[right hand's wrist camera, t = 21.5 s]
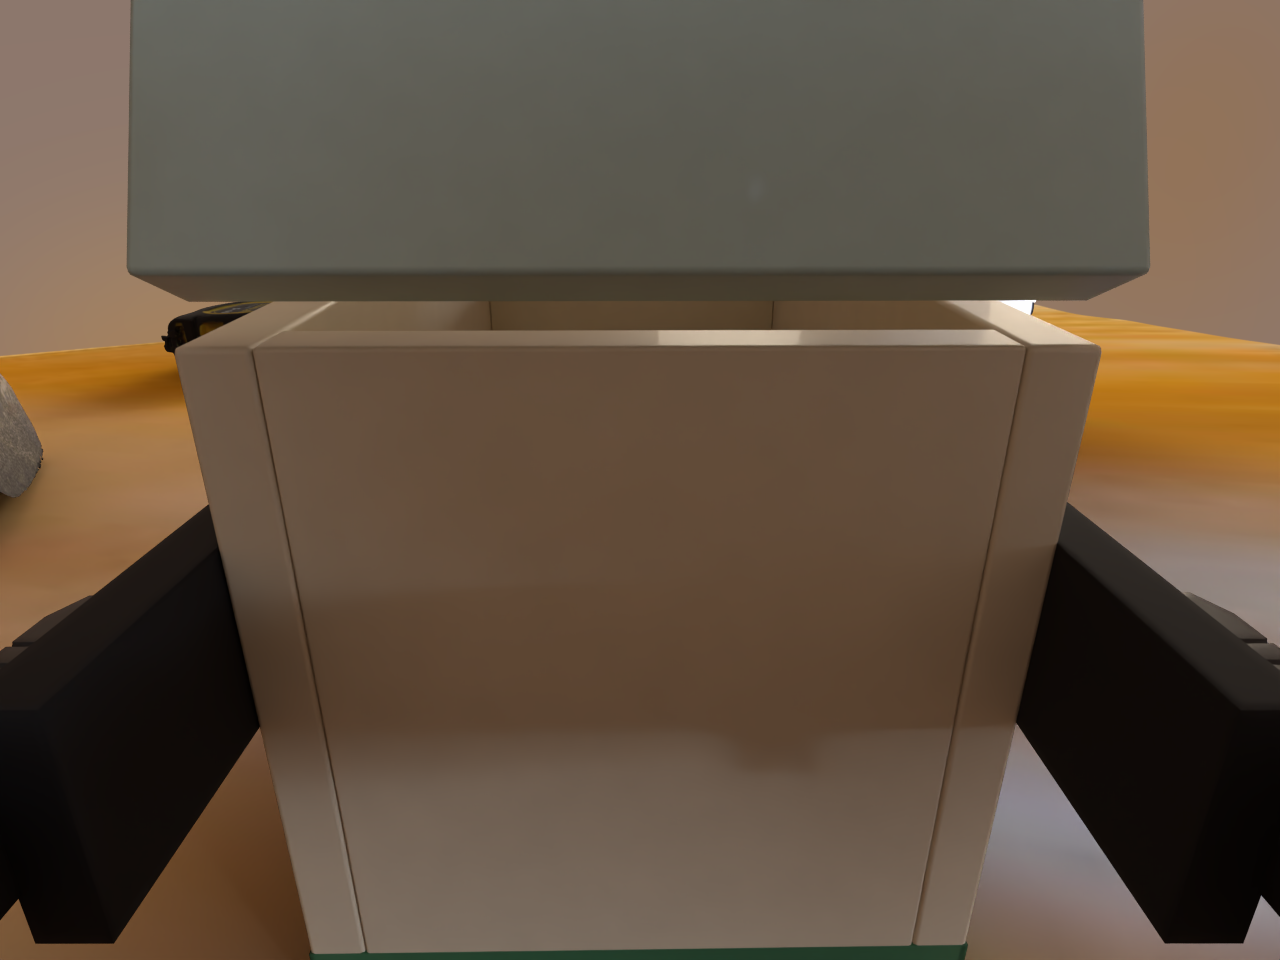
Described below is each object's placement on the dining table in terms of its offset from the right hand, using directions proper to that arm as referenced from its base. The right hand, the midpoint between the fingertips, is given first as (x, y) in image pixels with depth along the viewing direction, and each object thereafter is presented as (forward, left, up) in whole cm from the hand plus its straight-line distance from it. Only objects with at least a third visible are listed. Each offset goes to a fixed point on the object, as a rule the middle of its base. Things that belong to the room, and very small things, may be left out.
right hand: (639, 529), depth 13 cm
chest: (+5, +2, -6) cm, 8 cm away
